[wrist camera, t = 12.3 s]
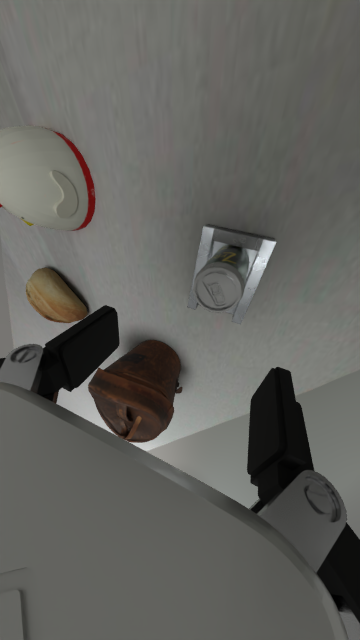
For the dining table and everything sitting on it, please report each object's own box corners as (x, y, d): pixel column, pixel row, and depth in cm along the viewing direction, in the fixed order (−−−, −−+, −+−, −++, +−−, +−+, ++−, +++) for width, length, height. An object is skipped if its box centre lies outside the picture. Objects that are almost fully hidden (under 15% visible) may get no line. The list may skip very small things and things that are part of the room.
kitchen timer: (39, 215, 37) (-65, 220, 25) (21, 120, 29) (-147, 59, 17) (96, 240, 35) (13, 257, 23) (95, 146, 27) (-36, 98, 15)
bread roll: (83, 322, 50) (58, 339, 44) (41, 280, 48) (8, 292, 41) (97, 305, 45) (71, 321, 38) (50, 257, 42) (13, 266, 36)
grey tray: (208, 224, 27) (203, 226, 24) (274, 238, 25) (276, 242, 22) (192, 300, 34) (187, 307, 32) (241, 315, 32) (240, 324, 30)
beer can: (253, 272, 27) (250, 308, 18) (219, 282, 30) (201, 318, 21) (244, 237, 25) (234, 256, 16) (208, 251, 28) (183, 275, 19)
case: (155, 390, 55) (119, 455, 40) (115, 339, 49) (56, 393, 35) (206, 383, 45) (183, 464, 31) (164, 319, 40) (111, 381, 25)
